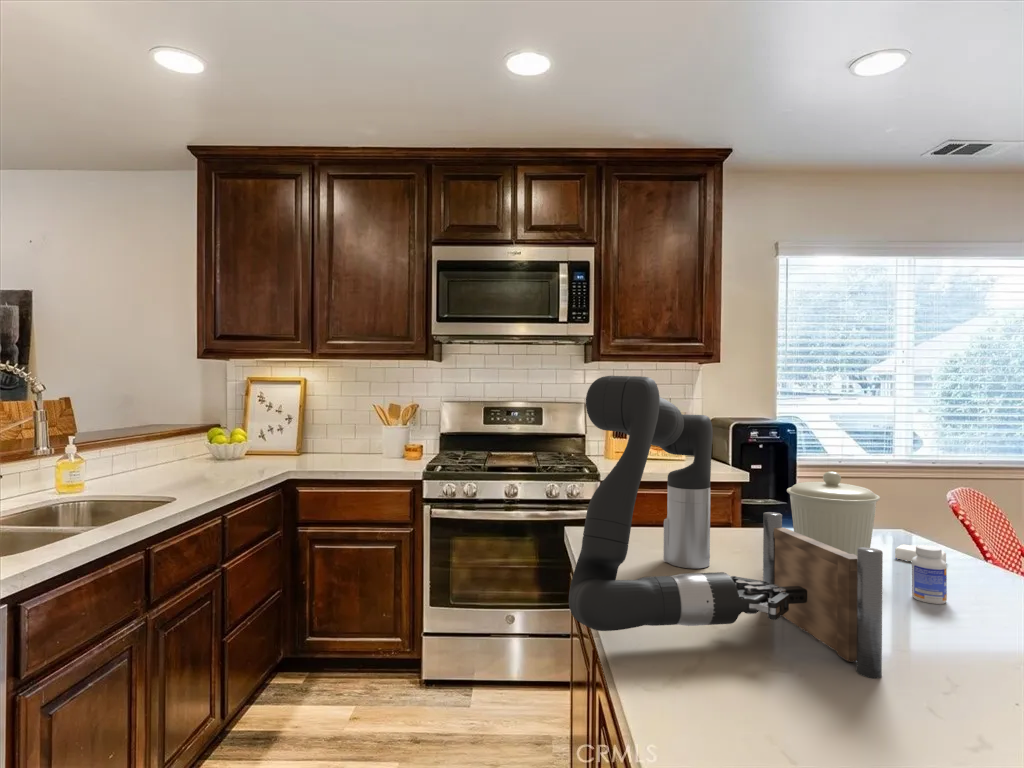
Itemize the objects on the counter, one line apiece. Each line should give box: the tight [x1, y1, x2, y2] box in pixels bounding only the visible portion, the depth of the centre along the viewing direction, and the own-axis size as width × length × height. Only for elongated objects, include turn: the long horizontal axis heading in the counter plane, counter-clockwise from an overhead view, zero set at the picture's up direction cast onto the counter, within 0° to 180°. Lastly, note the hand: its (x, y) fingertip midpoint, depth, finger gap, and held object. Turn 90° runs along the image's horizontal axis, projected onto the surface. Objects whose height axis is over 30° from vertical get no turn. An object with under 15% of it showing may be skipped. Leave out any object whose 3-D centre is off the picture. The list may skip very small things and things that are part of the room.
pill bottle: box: [911, 544, 948, 605], centre depth 112 cm, size 5×5×10 cm
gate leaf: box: [774, 527, 857, 663], centre depth 94 cm, size 19×2×15 cm, turn 8°
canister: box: [786, 471, 881, 555], centre depth 131 cm, size 18×18×21 cm
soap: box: [894, 544, 947, 564], centre depth 137 cm, size 9×6×3 cm, turn 43°
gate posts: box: [762, 511, 884, 679], centre depth 94 cm, size 26×3×17 cm, turn 8°
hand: (804, 594), depth 94 cm, fingers closed
